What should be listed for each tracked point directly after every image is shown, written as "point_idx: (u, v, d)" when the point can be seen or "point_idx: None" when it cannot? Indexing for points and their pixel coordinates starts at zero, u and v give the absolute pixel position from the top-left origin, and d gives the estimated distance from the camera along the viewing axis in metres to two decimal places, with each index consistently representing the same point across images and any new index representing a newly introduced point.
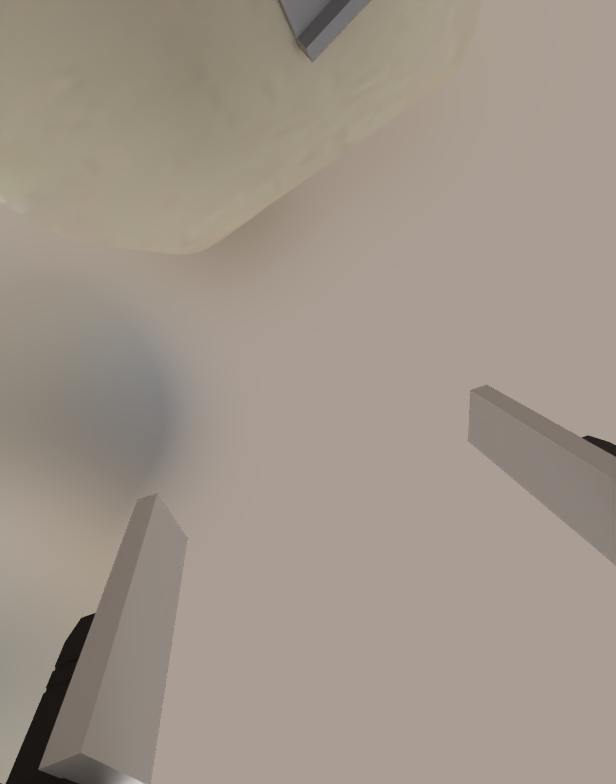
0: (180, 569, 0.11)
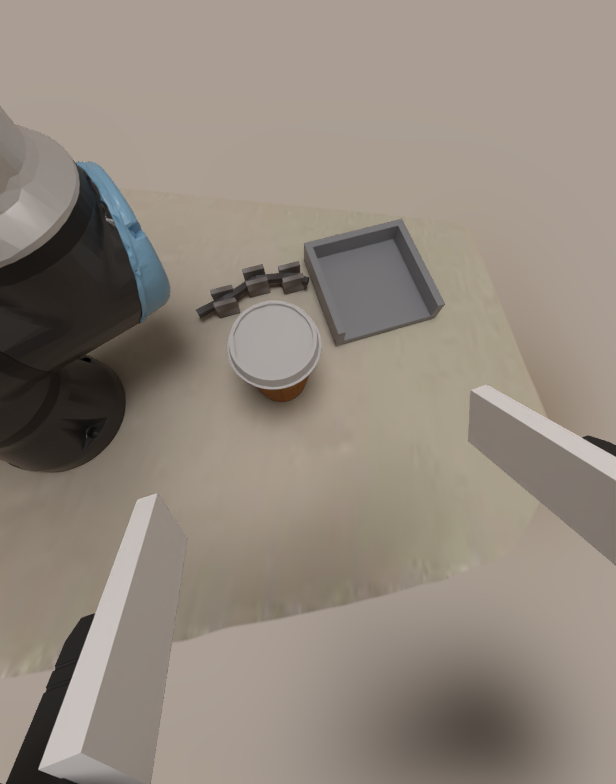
0: (180, 569, 0.11)
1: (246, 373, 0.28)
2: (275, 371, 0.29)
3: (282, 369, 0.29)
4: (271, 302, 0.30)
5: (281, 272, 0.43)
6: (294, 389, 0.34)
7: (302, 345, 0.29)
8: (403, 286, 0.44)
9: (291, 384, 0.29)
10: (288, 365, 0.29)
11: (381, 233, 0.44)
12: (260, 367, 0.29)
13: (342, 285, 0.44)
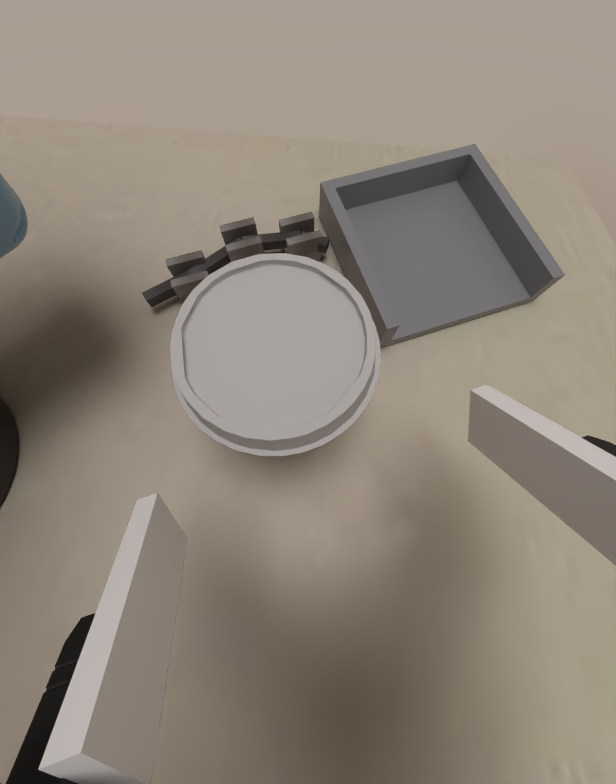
0: (180, 569, 0.11)
1: (209, 422, 0.12)
2: (280, 415, 0.12)
3: (297, 410, 0.12)
4: (268, 257, 0.14)
5: (284, 231, 0.26)
6: None
7: (340, 351, 0.13)
8: (481, 251, 0.27)
9: (318, 443, 0.12)
10: (311, 400, 0.12)
11: (443, 167, 0.28)
12: (244, 406, 0.12)
13: (382, 252, 0.27)
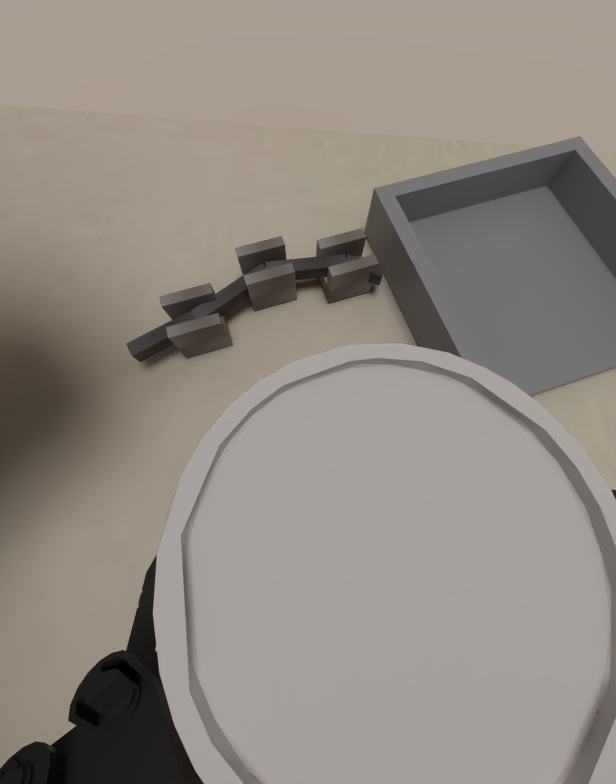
0: None
1: None
2: None
3: (475, 776, 0.05)
4: (367, 353, 0.06)
5: (323, 254, 0.19)
6: None
7: (551, 586, 0.05)
8: (590, 282, 0.20)
9: None
10: (507, 743, 0.05)
11: (536, 167, 0.20)
12: (341, 763, 0.05)
13: (456, 283, 0.20)
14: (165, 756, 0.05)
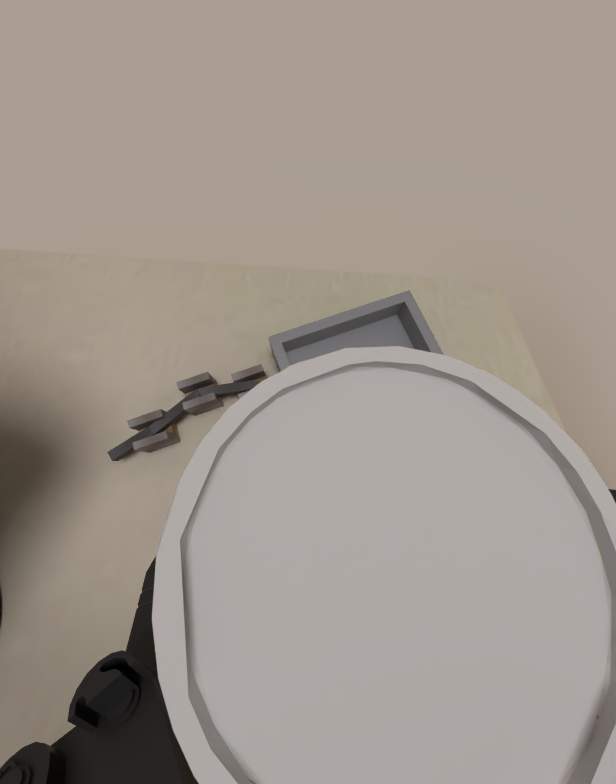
0: None
1: None
2: None
3: (475, 782, 0.05)
4: (366, 356, 0.06)
5: (237, 382, 0.29)
6: None
7: (551, 591, 0.05)
8: None
9: None
10: (506, 748, 0.05)
11: (381, 312, 0.30)
12: (340, 768, 0.05)
13: None
14: (165, 756, 0.05)
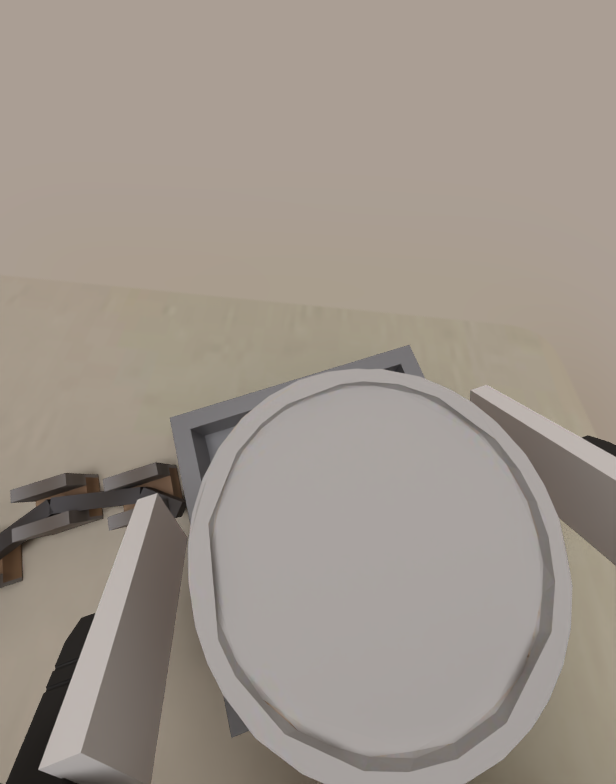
0: (180, 569, 0.11)
1: (269, 747, 0.06)
2: (403, 716, 0.06)
3: (433, 702, 0.06)
4: (354, 377, 0.08)
5: (115, 489, 0.17)
6: None
7: (497, 563, 0.07)
8: None
9: None
10: (458, 679, 0.06)
11: None
12: (332, 693, 0.06)
13: None
14: None
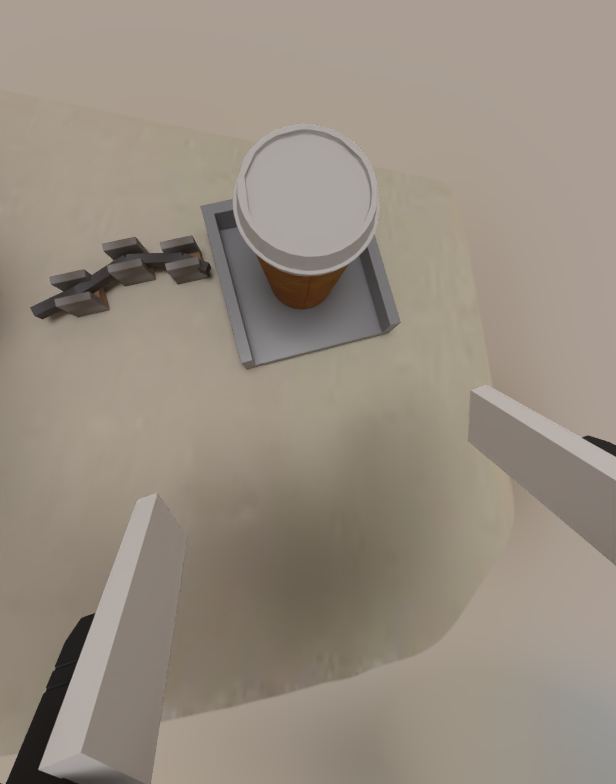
0: (180, 569, 0.11)
1: (266, 242, 0.18)
2: (311, 244, 0.18)
3: (322, 241, 0.18)
4: (306, 127, 0.19)
5: (166, 252, 0.28)
6: (326, 286, 0.24)
7: (353, 204, 0.19)
8: (349, 284, 0.30)
9: (333, 268, 0.19)
10: (331, 235, 0.18)
11: None
12: (288, 236, 0.18)
13: (261, 277, 0.30)
14: None
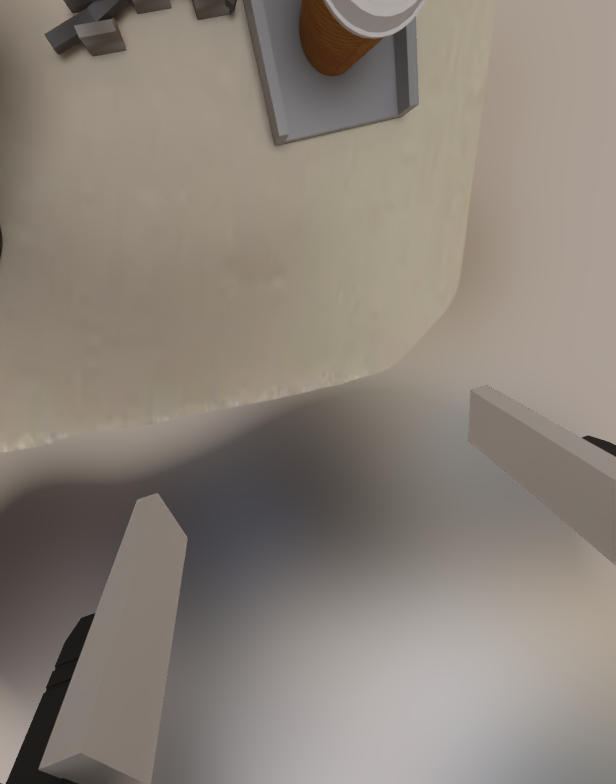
0: (180, 569, 0.11)
1: None
2: None
3: None
4: None
5: None
6: (368, 50, 0.26)
7: None
8: (377, 47, 0.30)
9: (390, 32, 0.22)
10: None
11: None
12: None
13: (290, 23, 0.28)
14: None
